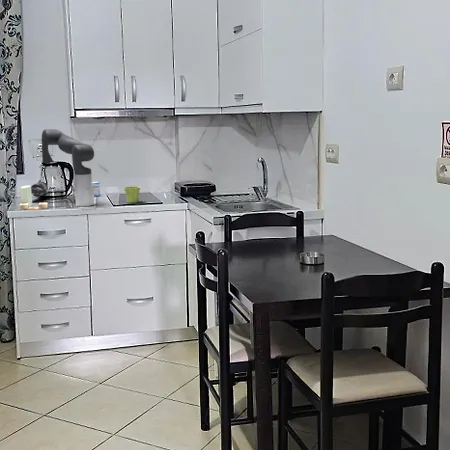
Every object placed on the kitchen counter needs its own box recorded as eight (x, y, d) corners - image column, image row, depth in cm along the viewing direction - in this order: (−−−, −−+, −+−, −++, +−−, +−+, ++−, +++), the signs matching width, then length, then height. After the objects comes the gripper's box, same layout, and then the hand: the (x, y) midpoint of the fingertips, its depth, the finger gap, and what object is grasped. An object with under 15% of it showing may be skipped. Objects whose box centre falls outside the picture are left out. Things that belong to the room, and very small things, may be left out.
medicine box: (91, 197, 402) (90, 183, 401) (86, 197, 405) (85, 182, 403) (100, 196, 408) (100, 182, 407) (95, 195, 411) (95, 181, 409)
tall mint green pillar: (32, 205, 371) (31, 185, 370) (28, 207, 364) (26, 187, 362) (25, 205, 371) (24, 185, 370) (21, 207, 364) (20, 187, 362)
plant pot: (131, 204, 371) (131, 188, 370) (120, 202, 377) (120, 187, 376) (144, 202, 378) (144, 187, 377) (133, 200, 384) (133, 185, 383)
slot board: (47, 206, 365) (47, 202, 364) (46, 208, 358) (46, 204, 358) (21, 207, 362) (20, 203, 362) (19, 209, 356) (19, 205, 355)
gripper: (26, 183, 390) (17, 186, 374) (50, 182, 390) (43, 185, 374) (26, 196, 392) (18, 199, 376) (51, 195, 392) (43, 199, 376)
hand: (30, 192), depth 375 cm, fingers open, 8 cm apart
